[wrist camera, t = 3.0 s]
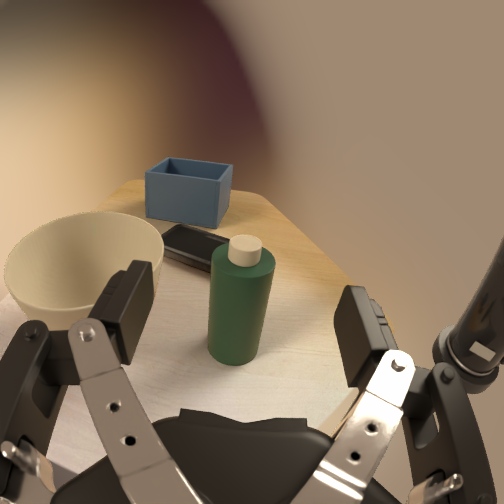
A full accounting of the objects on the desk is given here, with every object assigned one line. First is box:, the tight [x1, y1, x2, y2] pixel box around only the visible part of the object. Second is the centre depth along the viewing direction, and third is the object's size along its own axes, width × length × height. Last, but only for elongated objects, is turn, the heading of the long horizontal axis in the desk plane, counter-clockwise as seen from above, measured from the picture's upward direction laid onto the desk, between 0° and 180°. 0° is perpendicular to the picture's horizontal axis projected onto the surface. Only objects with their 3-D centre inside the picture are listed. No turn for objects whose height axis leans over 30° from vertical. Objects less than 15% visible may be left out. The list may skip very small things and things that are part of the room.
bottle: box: [208, 234, 276, 366], centre depth 27 cm, size 5×5×12 cm
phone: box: [161, 224, 230, 273], centre depth 44 cm, size 8×1×15 cm
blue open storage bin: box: [145, 157, 233, 229], centre depth 54 cm, size 13×10×8 cm
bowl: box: [4, 211, 164, 331], centre depth 27 cm, size 16×16×10 cm
